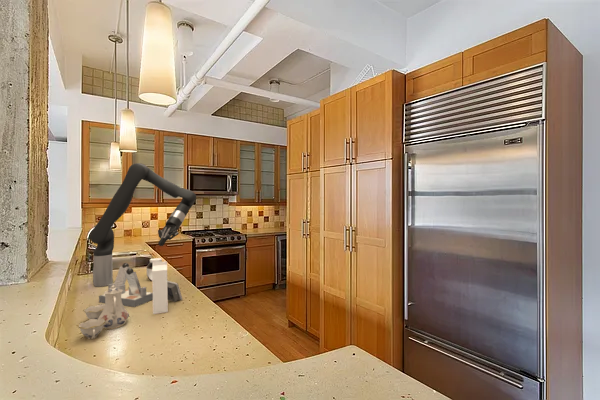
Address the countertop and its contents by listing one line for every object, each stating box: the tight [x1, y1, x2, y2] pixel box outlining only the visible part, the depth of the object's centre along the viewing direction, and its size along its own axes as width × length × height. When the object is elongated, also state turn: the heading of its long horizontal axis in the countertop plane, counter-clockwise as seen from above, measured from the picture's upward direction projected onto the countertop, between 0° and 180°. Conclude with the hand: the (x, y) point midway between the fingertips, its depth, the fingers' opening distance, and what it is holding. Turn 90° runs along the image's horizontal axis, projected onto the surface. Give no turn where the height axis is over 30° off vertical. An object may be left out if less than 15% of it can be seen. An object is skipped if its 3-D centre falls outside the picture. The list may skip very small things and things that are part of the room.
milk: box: [151, 260, 169, 315], centre depth 141 cm, size 6×6×22 cm
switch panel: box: [98, 282, 153, 308], centre depth 155 cm, size 22×12×7 cm, turn 72°
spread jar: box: [146, 257, 163, 281], centre depth 195 cm, size 12×11×12 cm
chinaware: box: [77, 285, 130, 340], centre depth 125 cm, size 28×17×17 cm, turn 34°
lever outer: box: [125, 267, 142, 295], centre depth 151 cm, size 5×3×14 cm, turn 72°
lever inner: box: [113, 262, 131, 289], centre depth 160 cm, size 5×3×14 cm, turn 72°
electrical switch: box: [167, 280, 183, 303], centre depth 156 cm, size 9×5×9 cm, turn 57°
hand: (160, 245), depth 168 cm, fingers closed
